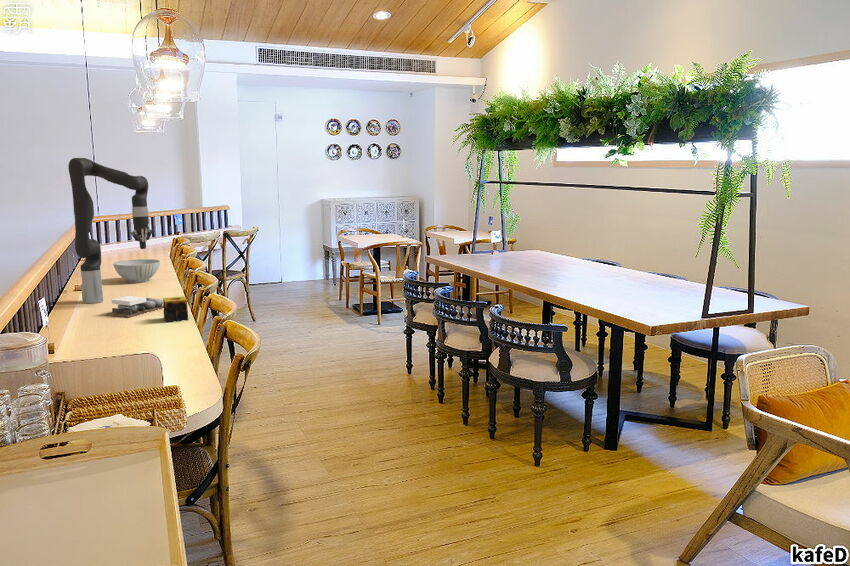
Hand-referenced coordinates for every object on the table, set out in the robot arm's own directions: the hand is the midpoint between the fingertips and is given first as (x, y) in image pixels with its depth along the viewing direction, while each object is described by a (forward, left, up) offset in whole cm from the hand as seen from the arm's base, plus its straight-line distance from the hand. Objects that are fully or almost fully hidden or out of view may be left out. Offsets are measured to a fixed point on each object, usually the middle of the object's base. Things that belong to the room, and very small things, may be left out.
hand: (143, 248), depth 336 cm
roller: (+10, -21, -28) cm, 36 cm away
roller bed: (+10, -16, -29) cm, 35 cm away
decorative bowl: (-58, +48, -29) cm, 81 cm away
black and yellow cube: (+40, -21, -29) cm, 54 cm away
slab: (+10, -20, -24) cm, 33 cm away
